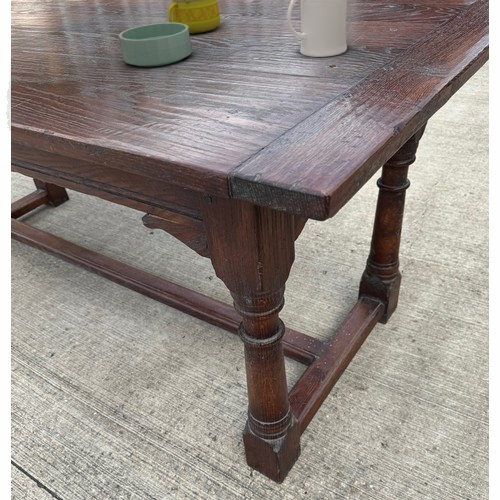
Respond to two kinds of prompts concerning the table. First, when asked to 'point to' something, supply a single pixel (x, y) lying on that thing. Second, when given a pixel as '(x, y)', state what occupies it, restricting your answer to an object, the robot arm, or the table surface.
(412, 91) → the table surface
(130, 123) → the table surface
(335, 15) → the mug
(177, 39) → the bowl
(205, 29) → the mug
